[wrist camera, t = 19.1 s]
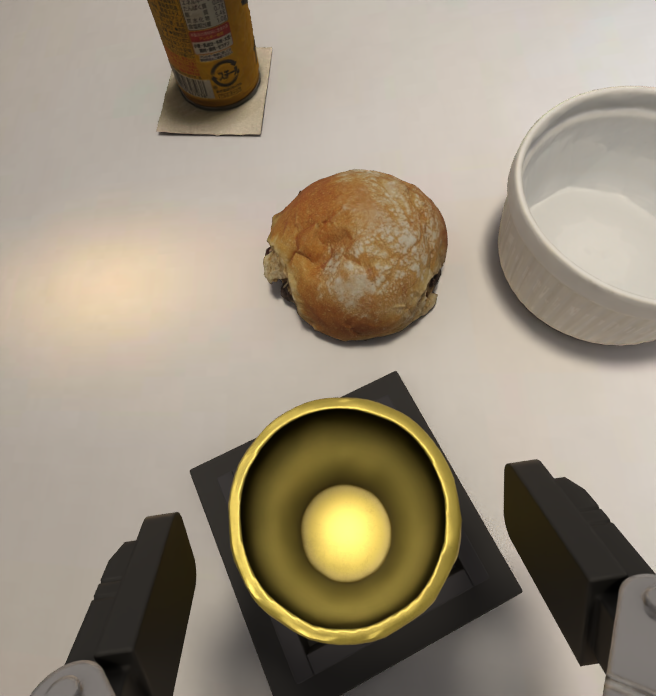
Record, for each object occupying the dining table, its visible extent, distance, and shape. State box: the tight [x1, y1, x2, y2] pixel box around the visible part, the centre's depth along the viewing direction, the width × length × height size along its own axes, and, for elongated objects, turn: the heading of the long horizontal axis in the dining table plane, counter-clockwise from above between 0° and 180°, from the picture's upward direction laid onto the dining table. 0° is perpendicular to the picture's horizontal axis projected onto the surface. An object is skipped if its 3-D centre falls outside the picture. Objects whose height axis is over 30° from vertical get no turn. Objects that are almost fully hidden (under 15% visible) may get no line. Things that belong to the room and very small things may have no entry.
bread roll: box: [263, 169, 448, 341], centre depth 29 cm, size 10×10×8 cm
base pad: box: [190, 371, 522, 696], centre depth 24 cm, size 12×12×3 cm
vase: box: [228, 398, 462, 645], centre depth 18 cm, size 6×6×14 cm
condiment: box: [147, 0, 272, 136], centre depth 31 cm, size 7×8×12 cm
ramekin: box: [498, 86, 656, 346], centre depth 27 cm, size 13×13×7 cm
